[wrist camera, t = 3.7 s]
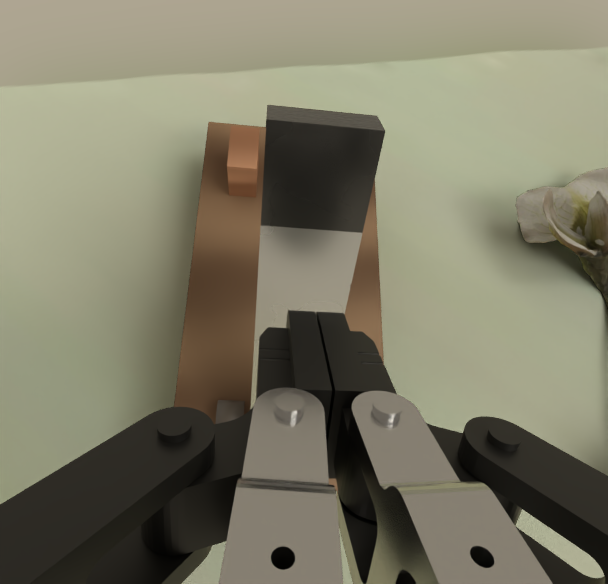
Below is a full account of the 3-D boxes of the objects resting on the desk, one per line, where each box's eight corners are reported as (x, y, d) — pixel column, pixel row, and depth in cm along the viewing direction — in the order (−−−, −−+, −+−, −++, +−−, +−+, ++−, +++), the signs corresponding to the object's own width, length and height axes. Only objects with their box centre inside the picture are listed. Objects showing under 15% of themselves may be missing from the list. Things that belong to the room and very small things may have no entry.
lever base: (367, 487, 24) (409, 495, 18) (177, 484, 23) (151, 492, 17) (357, 176, 31) (384, 106, 25) (213, 164, 30) (204, 87, 24)
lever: (314, 420, 21) (315, 443, 20) (250, 418, 20) (248, 442, 20) (377, 115, 12) (385, 130, 11) (267, 105, 12) (266, 119, 11)
